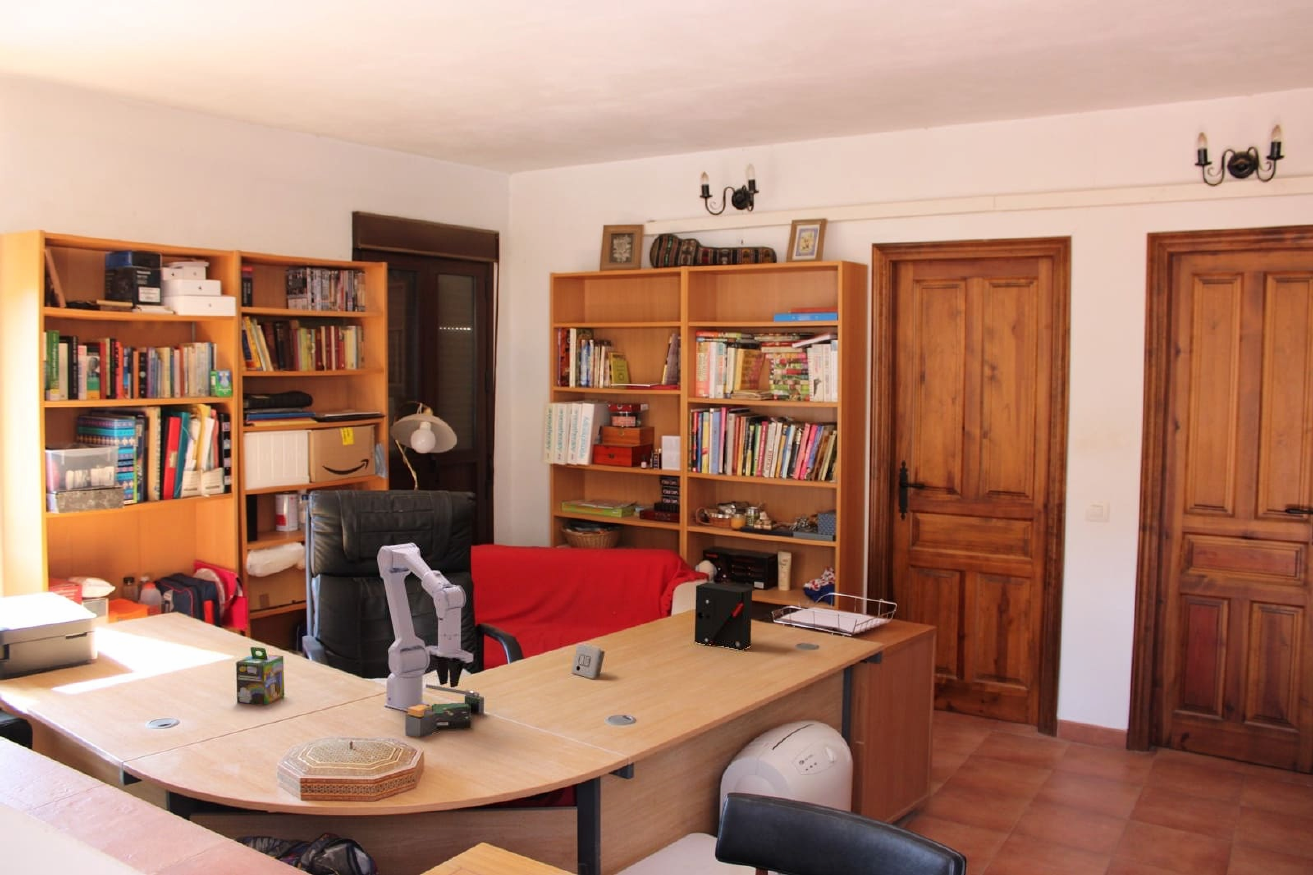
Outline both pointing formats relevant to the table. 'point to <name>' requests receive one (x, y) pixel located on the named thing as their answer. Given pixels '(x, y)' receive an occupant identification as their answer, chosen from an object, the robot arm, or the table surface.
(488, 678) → the table surface
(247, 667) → the chalk box
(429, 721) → the shiny metal block
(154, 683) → the table surface
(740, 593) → the electrical component
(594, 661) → the electrical switch
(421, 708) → the orange stepped block
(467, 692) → the grey flat bar
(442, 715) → the disk drive
